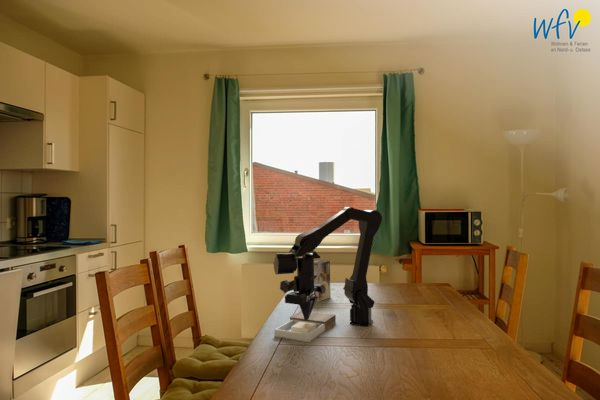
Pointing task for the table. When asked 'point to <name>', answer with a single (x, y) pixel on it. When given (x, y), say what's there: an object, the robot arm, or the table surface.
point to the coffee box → (322, 278)
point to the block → (303, 327)
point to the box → (286, 332)
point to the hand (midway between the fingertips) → (306, 319)
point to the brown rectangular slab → (317, 318)
